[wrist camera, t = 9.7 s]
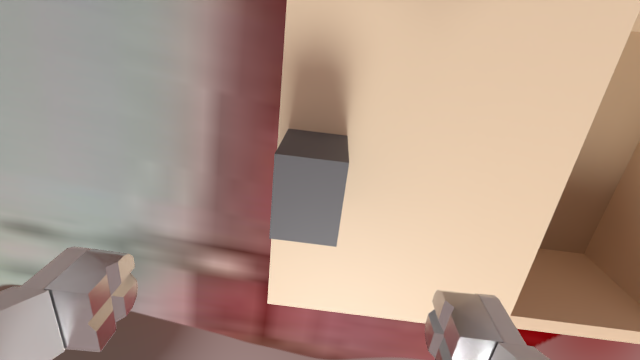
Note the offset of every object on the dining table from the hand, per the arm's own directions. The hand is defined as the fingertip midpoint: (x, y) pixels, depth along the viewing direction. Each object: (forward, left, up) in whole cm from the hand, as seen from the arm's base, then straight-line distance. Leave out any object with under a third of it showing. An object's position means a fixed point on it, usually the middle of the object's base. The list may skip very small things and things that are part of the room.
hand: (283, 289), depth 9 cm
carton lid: (0, +6, -11) cm, 12 cm away
